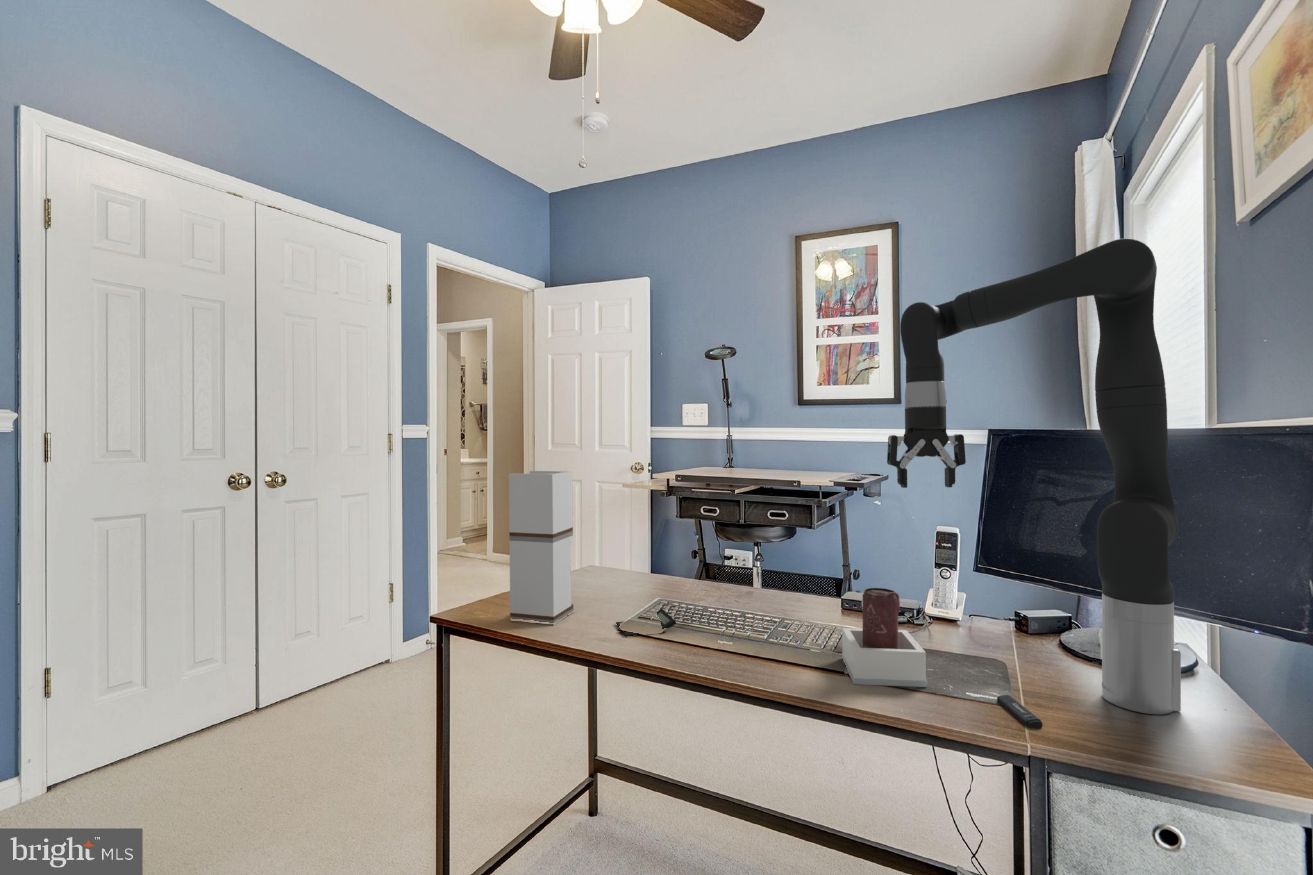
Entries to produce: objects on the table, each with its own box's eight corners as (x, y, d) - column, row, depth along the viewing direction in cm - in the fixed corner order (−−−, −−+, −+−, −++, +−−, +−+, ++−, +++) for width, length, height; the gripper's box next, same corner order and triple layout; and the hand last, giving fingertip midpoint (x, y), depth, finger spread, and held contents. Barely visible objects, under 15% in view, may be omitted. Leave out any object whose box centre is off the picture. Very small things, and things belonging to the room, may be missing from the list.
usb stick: (995, 702, 102) (995, 693, 102) (1011, 702, 102) (1011, 693, 102) (1026, 730, 93) (1026, 720, 93) (1044, 730, 92) (1044, 720, 92)
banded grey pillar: (573, 612, 153) (572, 471, 153) (553, 625, 143) (552, 474, 143) (532, 608, 156) (531, 470, 156) (510, 621, 146) (508, 473, 146)
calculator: (615, 625, 143) (615, 612, 143) (663, 620, 147) (663, 608, 147) (626, 638, 134) (626, 624, 134) (676, 633, 138) (676, 619, 138)
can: (902, 674, 110) (902, 596, 110) (865, 671, 112) (865, 594, 112) (896, 661, 116) (896, 587, 116) (860, 659, 118) (860, 586, 117)
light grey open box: (907, 660, 120) (907, 629, 119) (927, 687, 107) (927, 652, 107) (841, 658, 121) (841, 627, 121) (853, 684, 109) (853, 650, 109)
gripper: (955, 405, 125) (956, 485, 125) (883, 406, 127) (883, 485, 127) (970, 403, 118) (971, 488, 118) (893, 405, 119) (894, 489, 119)
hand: (926, 487), depth 122 cm, fingers open, 8 cm apart
